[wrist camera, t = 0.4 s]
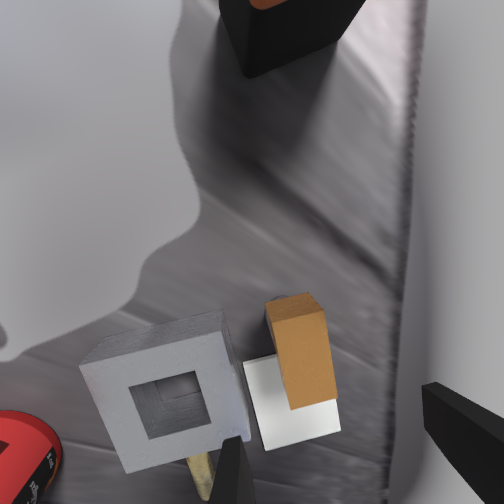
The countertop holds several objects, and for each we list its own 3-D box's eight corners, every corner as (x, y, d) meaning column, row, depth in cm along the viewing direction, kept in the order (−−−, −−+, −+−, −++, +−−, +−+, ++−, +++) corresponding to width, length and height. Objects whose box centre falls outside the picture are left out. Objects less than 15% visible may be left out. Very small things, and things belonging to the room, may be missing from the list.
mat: (338, 426, 21) (340, 430, 21) (264, 446, 21) (265, 451, 21) (324, 341, 19) (326, 344, 19) (242, 362, 19) (243, 365, 19)
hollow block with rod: (259, 447, 21) (264, 490, 18) (160, 474, 21) (148, 523, 18) (222, 308, 18) (220, 330, 15) (105, 336, 18) (78, 365, 14)
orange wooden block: (305, 338, 19) (337, 397, 13) (272, 346, 19) (290, 410, 13) (293, 275, 18) (324, 310, 12) (258, 283, 18) (271, 323, 12)
